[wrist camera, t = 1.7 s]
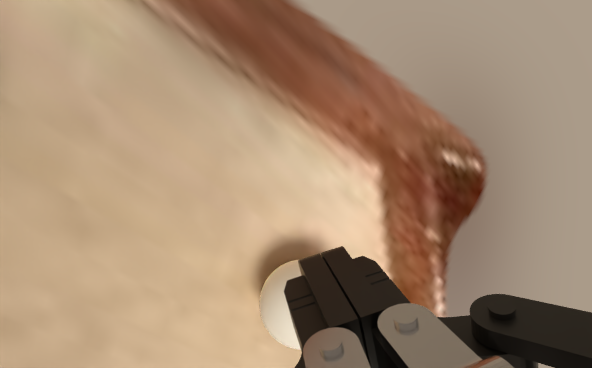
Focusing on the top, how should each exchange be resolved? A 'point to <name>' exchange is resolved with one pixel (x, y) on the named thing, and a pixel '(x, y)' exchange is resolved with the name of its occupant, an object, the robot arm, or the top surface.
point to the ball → (279, 305)
